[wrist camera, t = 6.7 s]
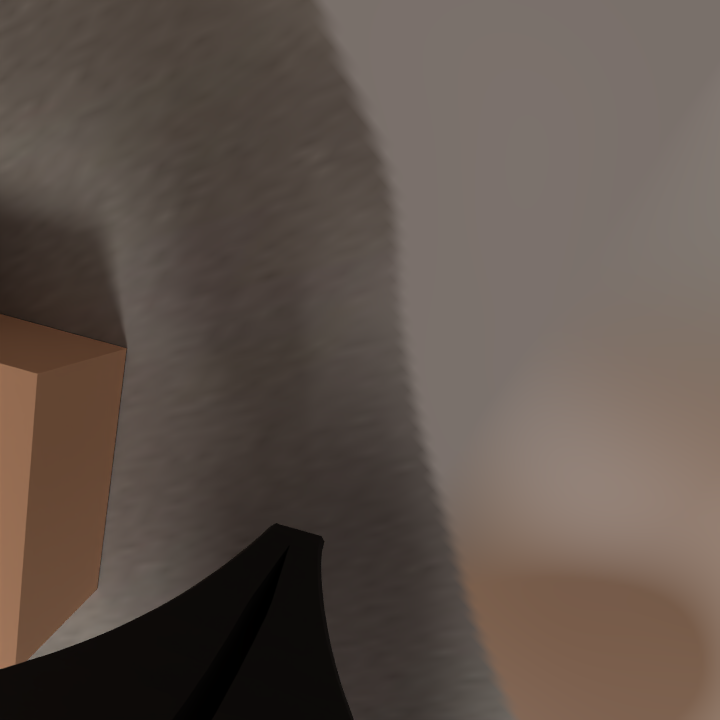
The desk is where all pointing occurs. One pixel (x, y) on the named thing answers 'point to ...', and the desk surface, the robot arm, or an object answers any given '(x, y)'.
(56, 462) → the tan rectangular slab
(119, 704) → the robot arm
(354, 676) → the desk surface
